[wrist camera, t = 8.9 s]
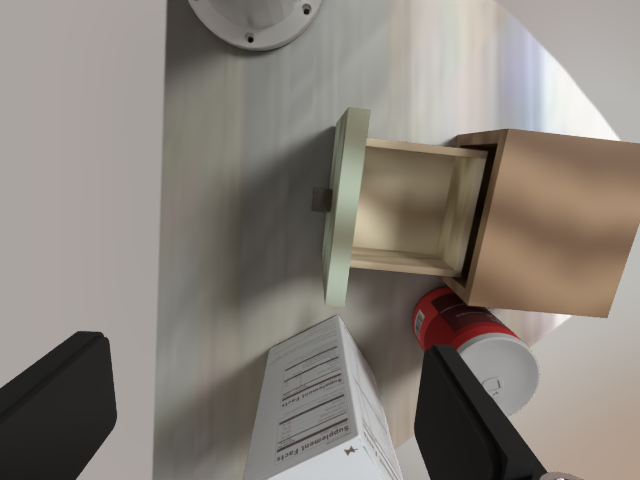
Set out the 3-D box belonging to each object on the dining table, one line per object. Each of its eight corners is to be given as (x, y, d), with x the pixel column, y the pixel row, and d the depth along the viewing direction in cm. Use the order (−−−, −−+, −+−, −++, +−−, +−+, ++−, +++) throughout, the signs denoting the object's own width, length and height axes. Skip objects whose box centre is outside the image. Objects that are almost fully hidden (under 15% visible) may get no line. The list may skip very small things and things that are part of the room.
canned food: (432, 360, 40) (476, 436, 29) (396, 308, 38) (429, 369, 27) (490, 325, 39) (557, 391, 28) (456, 271, 37) (514, 319, 26)
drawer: (319, 121, 33) (323, 104, 21) (459, 137, 33) (533, 128, 22) (306, 256, 36) (303, 304, 25) (432, 268, 36) (486, 320, 25)
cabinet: (457, 135, 33) (508, 128, 25) (575, 148, 34) (665, 146, 25) (431, 269, 37) (468, 305, 28) (538, 279, 37) (607, 318, 29)
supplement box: (267, 348, 39) (233, 488, 23) (338, 311, 38) (357, 431, 22) (308, 409, 41) (304, 579, 25) (376, 376, 40) (419, 530, 24)
